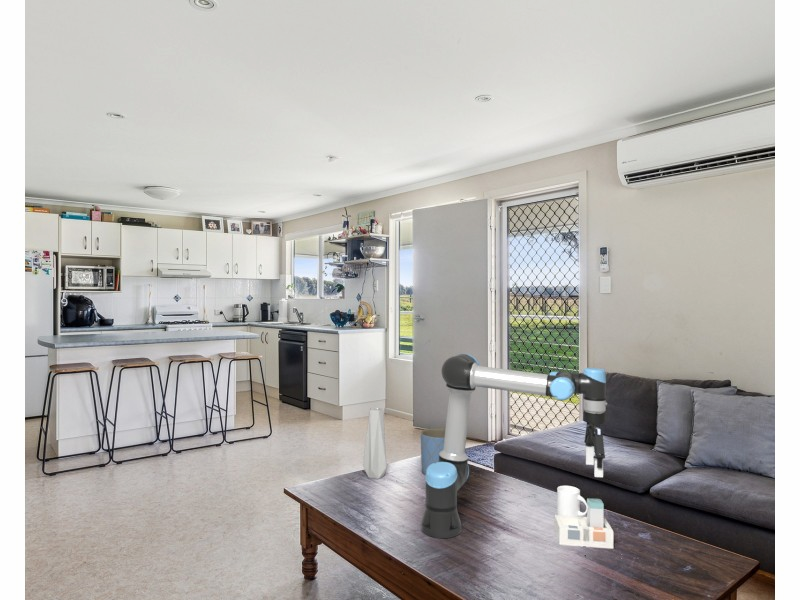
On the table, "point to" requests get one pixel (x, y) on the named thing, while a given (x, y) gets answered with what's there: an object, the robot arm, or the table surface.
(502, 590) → the table surface
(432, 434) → the planter
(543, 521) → the table surface
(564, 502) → the mug
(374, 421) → the vase
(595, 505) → the plug
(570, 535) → the socket box
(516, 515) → the table surface
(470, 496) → the table surface
